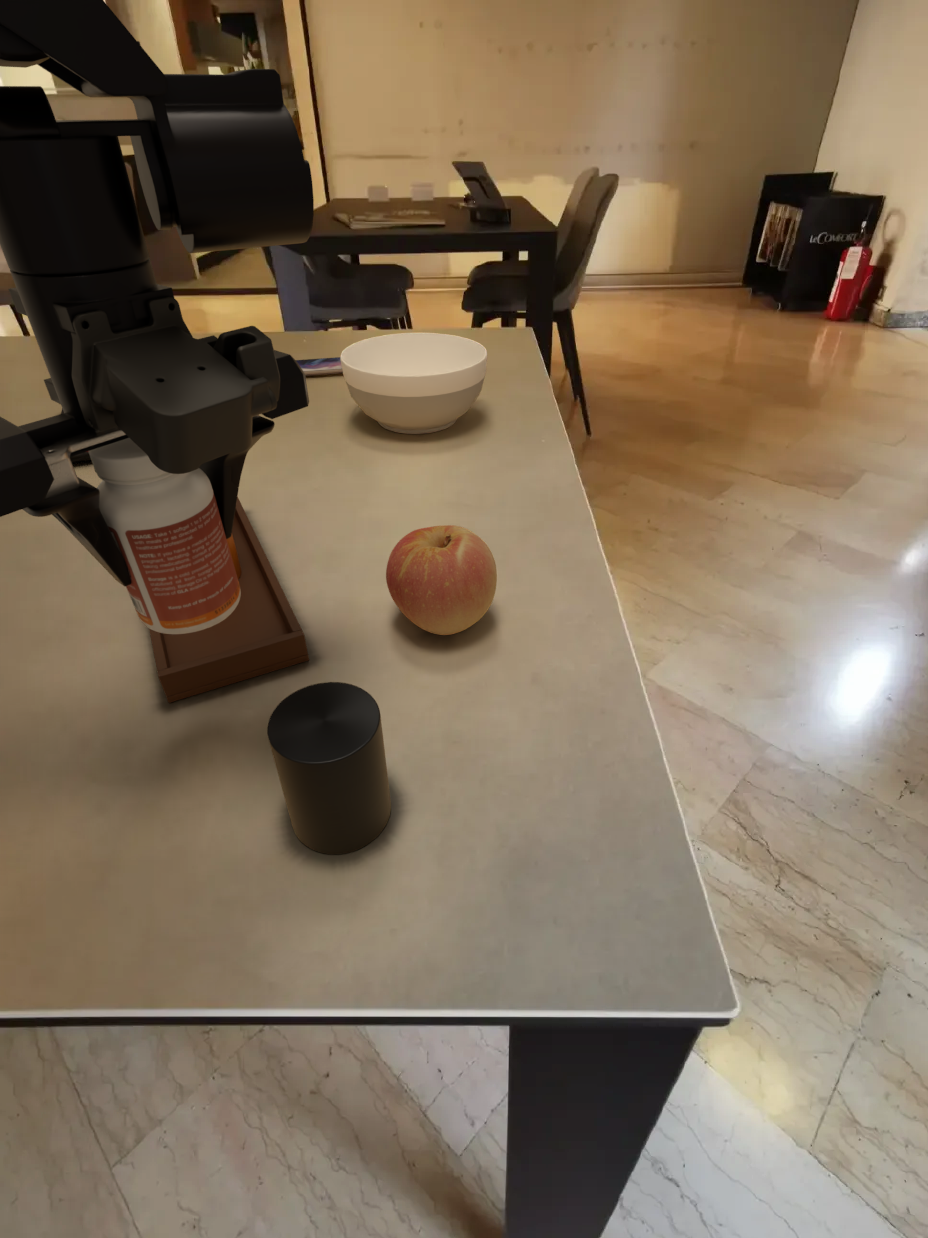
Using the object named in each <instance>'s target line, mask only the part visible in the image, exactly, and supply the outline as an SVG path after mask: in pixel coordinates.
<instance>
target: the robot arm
mask: <svg viewBox="0 0 928 1238" xmlns="http://www.w3.org/2000/svg"><path fill="white" fill-rule="evenodd" d="M36 65H37V66H39V67H40V68H42V69H43V70H44V71H46V72H48V73H50V74H51V75H53V76H54V77H56V78H57V79H59V80H60V81H62V82H64V83H65V84H67V85H68V86H69V87H71V88H72V89H75V90H76V91H78V92H79V93H81V94H82V95H84V96H86V97H89V98H128V99H129V100H131V101H132V104H133V106H134V110H135V114H136V118H127V119H125V118H123V119H121V118H120V119H119V118H118V119H56V117H55V114H54V111H53V109H52V106H51V103H50V101H49V99H48V96H47V94H46V91H45V90H44V88H43V87H42V86H39V85H31V86H30V85H25V86H24V85H0V249H1V251H2V253H3V256H4V259H5V261H6V264H7V267H8V269H9V272H10V275H11V277H12V281H13V283H14V285H15V287H12V288H8V292H9V295H10V298H11V300H12V302H13V305H14V307H15V310H16V312H17V313H18V314H20V315H23V316H25V317H27V319H28V322H29V324H30V327H31V330H32V332H33V335H34V338H35V341H36V343H37V345H38V349H39V350H40V354H41V356H42V358H43V361H44V364H45V366H46V369H47V372H48V375H49V378H45V379H43V383H44V385H45V388H46V389H47V392H48V396H49V398H50V400H51V401H52V402H55V403H56V404H58V405H60V406H61V410H62V409H63V411H64V413H63V414H61V413H60V414H57V415H53V416H50V417H46V418H42V419H39V420H36V421H32V422H29V423H25V424H22V425H16V424H14V423H12V422H11V421H9V420H7V419H5V418H4V417H2V416H0V518H2V517H5V516H7V515H9V514H13V513H15V512H18V511H21V510H22V511H24V512H25V513H27V514H28V515H30V516H32V517H37V518H43V517H44V518H45V517H48V516H53V517H54V518H55V519H56V520H57V521H58V522H59V523H60V524H61V525H62V526H63V527H64V528H65V529H66V530H67V531H68V532H69V533H70V534H71V535H72V536H73V537H74V538H75V539H76V540H77V542H79V544H81V546H82V547H84V549H85V550H86V551H88V552H89V554H90V555H91V556H92V557H93V558H94V559H95V560H96V561H97V562H98V563H99V564H100V565H101V567H103V568H104V570H106V571H107V572H108V574H110V576H111V577H112V578H113V579H114V580H115V581H116V582H117V583H119V584H120V585H122V586H123V587H125V588H126V586H128V585H130V584H131V579H130V575H129V572H128V568H127V565H126V562H125V560H124V558H123V556H122V554H121V552H120V550H119V548H118V546H117V544H116V542H115V540H114V538H113V536H112V534H111V532H110V530H109V528H108V525H107V523H106V521H105V519H104V517H103V515H102V513H101V511H100V508H99V498H100V492H99V489H97V487H95V486H94V485H92V484H91V483H89V482H87V481H86V480H84V479H82V478H81V477H78V475H77V473H76V470H75V468H74V464H73V462H71V459H70V457H72V456H75V455H78V454H81V453H84V452H87V451H90V450H93V449H96V448H99V447H102V446H105V445H108V444H111V443H114V442H117V441H120V440H124V439H127V438H130V439H131V440H132V441H133V442H134V443H135V444H136V445H137V446H138V447H139V448H141V449H142V450H143V451H144V452H145V453H146V454H147V455H148V457H149V459H150V461H151V462H152V463H153V464H154V465H155V466H156V467H157V468H159V469H160V470H162V471H164V472H168V473H172V474H184V473H188V472H191V471H194V470H196V469H198V468H200V469H201V470H202V471H203V472H204V473H205V474H206V475H207V477H208V478H209V480H210V483H211V486H212V489H213V492H214V496H215V499H216V503H217V506H218V510H219V514H220V517H221V521H222V525H223V528H224V532H225V536H226V539H228V538H230V537H231V535H232V528H233V522H234V515H235V509H236V502H237V496H238V495H239V489H240V488H239V487H240V484H241V478H242V474H243V473H242V472H243V469H244V464H245V463H246V458H247V455H248V453H249V451H250V450H251V449H252V448H253V447H254V446H255V445H256V444H257V443H258V441H260V439H261V438H263V437H264V436H266V435H269V434H270V433H272V432H273V430H274V428H275V425H276V424H275V422H274V419H278V418H279V417H283V416H285V415H288V414H290V413H294V412H296V411H299V410H302V409H304V408H308V407H309V404H310V397H309V391H308V385H307V384H308V383H307V376H305V373H304V372H303V370H302V369H301V367H300V365H299V364H298V362H297V361H296V360H297V359H295V358H294V357H293V356H292V354H290V353H286V352H283V351H279V350H275V349H274V345H273V341H272V339H271V338H270V337H269V336H268V335H267V334H265V333H264V332H263V331H261V330H260V329H259V328H258V327H256V326H255V325H249V326H244V327H240V328H236V329H232V330H229V331H225V332H222V333H220V334H219V335H218V337H217V336H216V335H209V336H204V337H201V338H195V337H193V334H192V333H191V331H190V330H189V327H188V326H187V324H186V322H185V321H184V318H183V314H182V310H181V306H180V303H179V301H178V300H177V299H176V298H175V295H174V291H173V288H172V287H170V286H166V285H163V284H159V283H157V279H156V276H155V271H154V269H153V265H152V261H151V258H150V254H149V250H148V247H147V246H148V245H147V242H146V238H145V234H144V231H143V227H142V223H141V220H140V215H139V211H138V207H137V204H136V200H135V197H134V193H133V189H132V184H131V181H130V177H129V173H128V170H127V166H126V162H125V158H124V154H123V151H122V147H121V143H120V140H119V139H120V138H119V137H129V138H130V142H131V146H132V150H133V155H134V161H135V164H136V170H137V173H138V174H137V175H138V178H139V181H140V185H141V189H142V192H143V196H144V199H145V202H146V205H147V208H148V209H147V210H148V211H149V214H150V216H151V219H152V222H153V224H154V226H155V228H156V229H157V230H158V231H170V230H173V228H175V229H176V231H177V234H178V236H179V239H180V241H181V243H182V245H183V247H184V248H185V250H186V252H187V253H188V254H199V253H201V254H202V253H209V252H222V251H233V250H244V249H252V248H253V249H255V248H265V247H277V246H287V245H298V244H304V243H307V242H308V240H309V238H310V237H311V235H312V230H313V224H314V215H315V214H314V212H315V210H314V209H315V208H314V207H315V204H314V201H315V199H314V188H313V179H312V178H313V177H312V171H311V165H310V162H309V160H307V159H305V157H304V151H303V147H302V143H301V140H300V137H299V133H298V130H297V127H296V125H295V123H294V119H293V117H292V115H291V113H290V111H289V110H288V108H287V106H286V105H285V103H284V96H283V88H282V81H281V80H282V79H281V75H280V74H279V72H278V71H277V70H276V69H274V68H250V69H249V68H247V69H241V70H234V71H232V72H229V73H225V74H208V73H207V74H205V73H203V74H202V73H201V74H200V73H164V72H163V71H162V70H161V68H159V66H158V65H157V64H156V62H155V61H154V60H153V59H152V58H151V56H150V55H149V54H148V53H147V52H146V50H145V48H143V46H141V42H140V41H139V40H136V38H135V37H134V36H133V35H132V34H131V32H130V30H128V29H127V27H126V26H125V25H124V24H123V22H122V21H121V20H120V19H119V18H118V16H117V15H116V14H115V12H114V11H113V10H112V9H111V8H110V6H108V4H107V3H106V2H105V0H0V67H1V68H2V67H3V68H4V67H5V68H6V67H7V68H30V67H33V66H36ZM261 415H262V416H261Z"/></svg>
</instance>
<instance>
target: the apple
mask: <svg viewBox="0 0 928 1238" xmlns="http://www.w3.org/2000/svg"><path fill="white" fill-rule="evenodd" d="M386 563H387V564H386V568H385V570H386V571H385V581H386V586H387V589H388V592H389V595H390V597H391V599H392V601H393V602H394V604H395V605H396V607H397V608H398V610H399V611H400V612H401V613H402V614H403V615H404V617H406V618H407V619H408V620H409V621H410V622H411V623H413V624H414V625H415V626H417V627H419V628H420V629H421V630H423V631H425V632H428V633H431V634H434V635H440V636H449V635H454V634H458V633H460V632H463V631H465V630H467V629H469V628H470V627H472V626H473V625H474V624H476V623H477V622H479V621H480V620H481V619H482V618H483V616H484V615H485V614H486V613H487V612H488V610H489V608H490V607H491V606H492V603H493V601H494V598H495V595H496V591H497V582H498V572H497V564H496V560H495V557H494V555H493V552H492V550H491V549H490V547H489V545H488V544H487V543H486V541H484V540H483V539H482V537H480V536H479V535H478V534H476V533H474V532H473V531H471V530H470V529H468V528H466V527H463V526H460V525H451V524H450V525H449V524H448V525H447V524H446V525H444V524H443V525H433V526H428V527H422V528H418V529H414V530H412V531H410V532H409V533H407V534H405V535H404V536H403V537H402V538H401V539H399V541H398V542H397V543H396V544H395V546H394V547H393V549H392V550H391V552H390V554H389V557H388V559H387V562H386Z"/></svg>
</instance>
